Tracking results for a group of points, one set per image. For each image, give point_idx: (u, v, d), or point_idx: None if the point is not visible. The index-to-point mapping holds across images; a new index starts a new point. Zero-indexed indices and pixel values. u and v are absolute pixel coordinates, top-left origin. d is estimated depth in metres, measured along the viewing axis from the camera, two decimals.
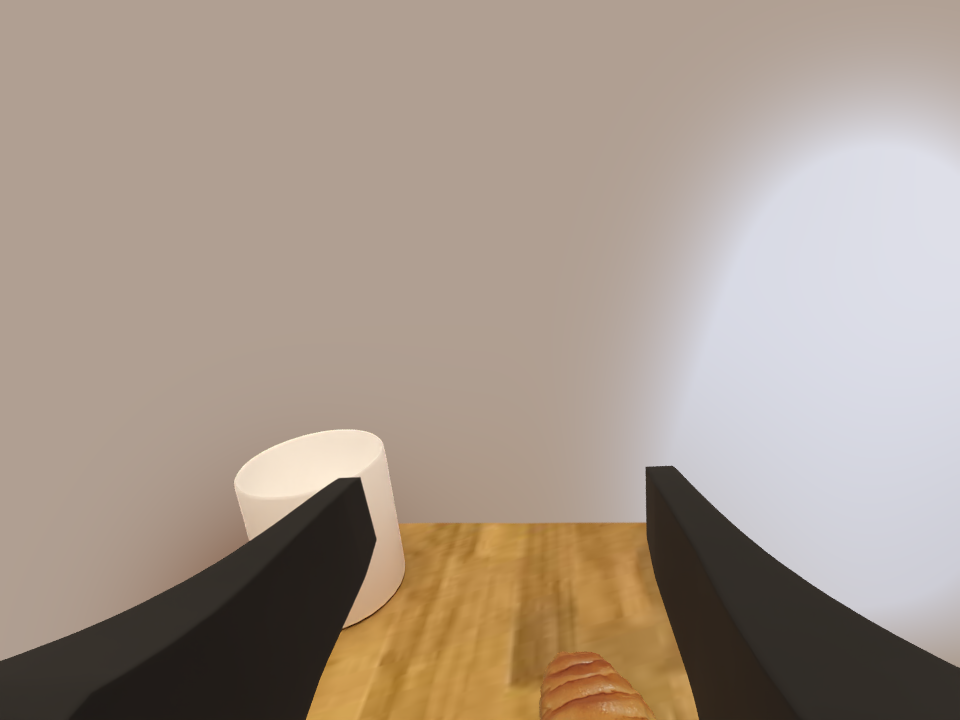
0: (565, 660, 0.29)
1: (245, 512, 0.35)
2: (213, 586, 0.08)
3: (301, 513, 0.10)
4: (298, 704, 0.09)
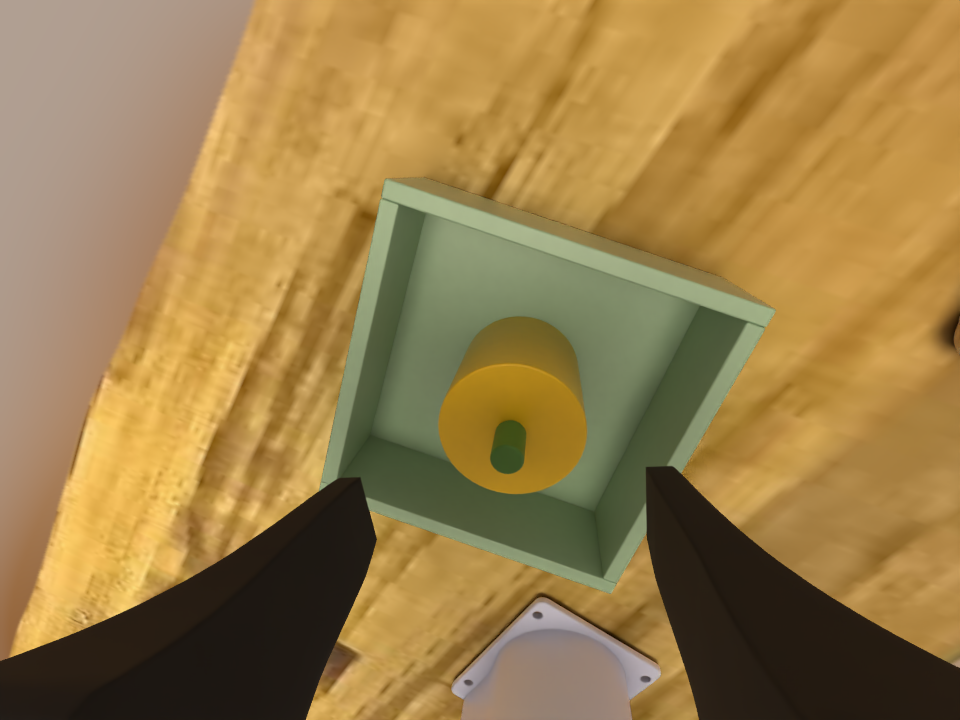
0: None
1: None
2: (213, 586, 0.08)
3: (301, 513, 0.10)
4: (298, 704, 0.09)
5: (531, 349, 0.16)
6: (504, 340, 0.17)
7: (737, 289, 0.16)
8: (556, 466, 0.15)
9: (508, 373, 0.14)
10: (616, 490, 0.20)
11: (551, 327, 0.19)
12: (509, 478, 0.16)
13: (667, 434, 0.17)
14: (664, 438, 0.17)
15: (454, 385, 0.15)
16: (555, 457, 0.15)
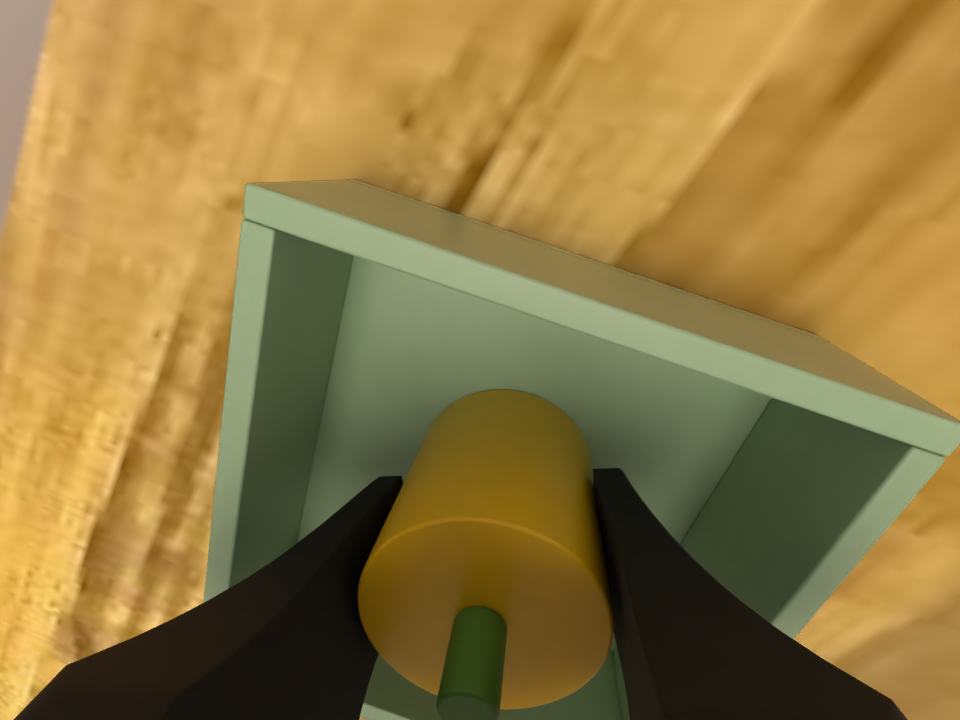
0: None
1: None
2: (271, 586, 0.08)
3: (348, 512, 0.10)
4: (351, 707, 0.09)
5: (517, 473, 0.09)
6: (473, 447, 0.10)
7: (867, 370, 0.09)
8: (559, 676, 0.09)
9: (474, 533, 0.08)
10: None
11: (551, 409, 0.12)
12: None
13: (739, 594, 0.11)
14: None
15: (380, 546, 0.09)
16: (557, 664, 0.09)
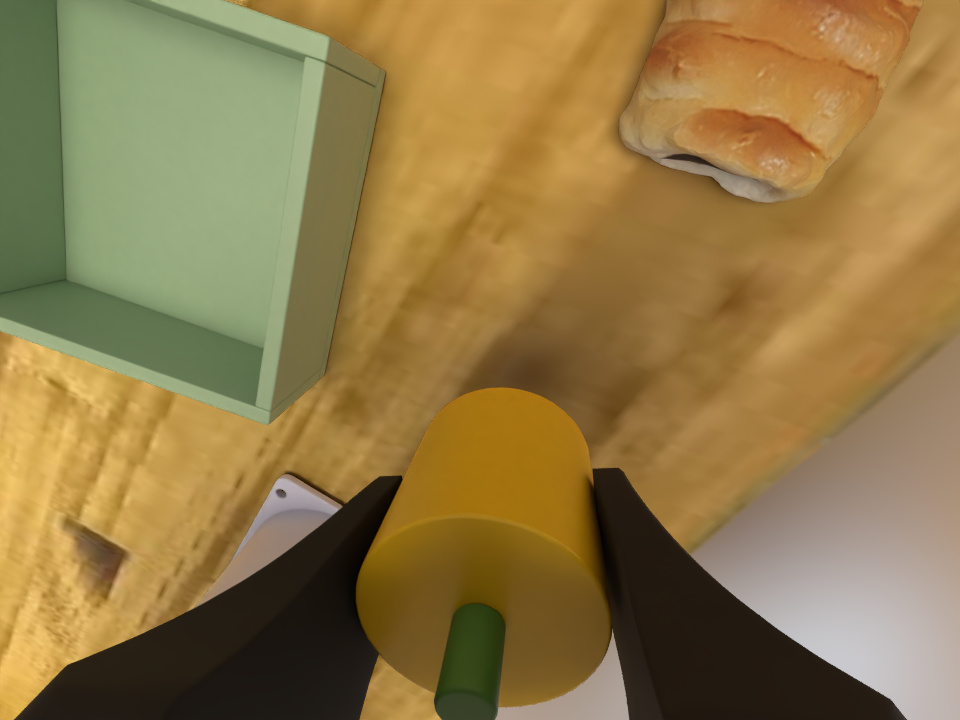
0: None
1: None
2: (272, 586, 0.08)
3: (348, 512, 0.10)
4: (352, 707, 0.09)
5: (516, 470, 0.09)
6: (472, 445, 0.10)
7: None
8: (558, 673, 0.09)
9: (472, 531, 0.08)
10: None
11: (550, 407, 0.12)
12: None
13: None
14: None
15: (378, 543, 0.08)
16: (556, 661, 0.09)
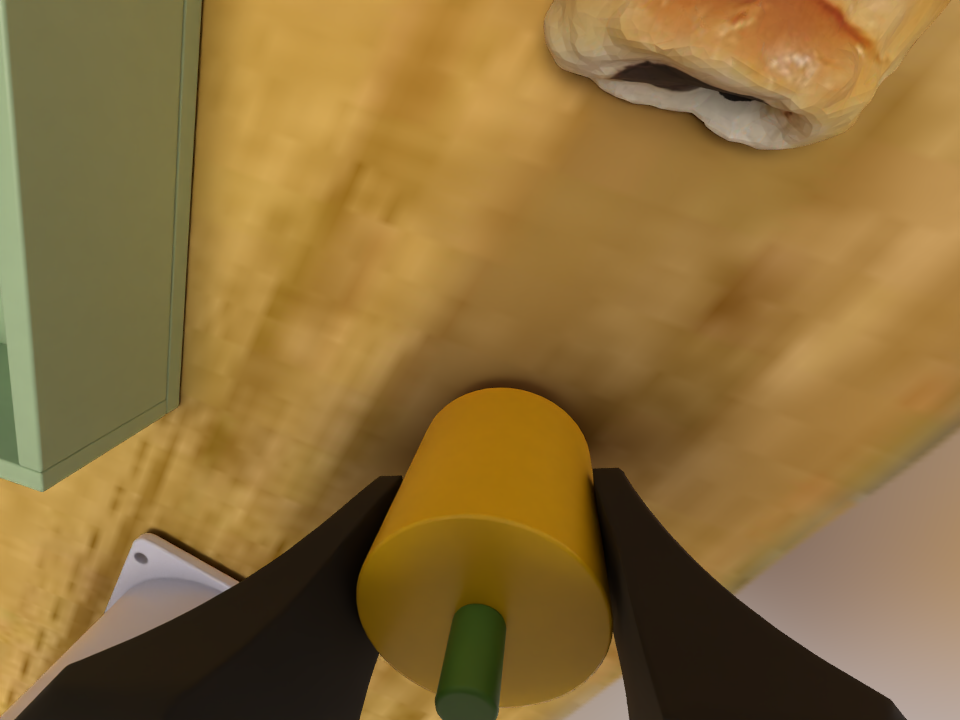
0: None
1: None
2: (272, 586, 0.08)
3: (348, 512, 0.10)
4: (352, 707, 0.09)
5: (516, 471, 0.09)
6: (472, 445, 0.10)
7: None
8: (558, 674, 0.09)
9: (472, 530, 0.08)
10: None
11: (550, 407, 0.12)
12: None
13: None
14: None
15: (379, 544, 0.08)
16: (557, 661, 0.09)
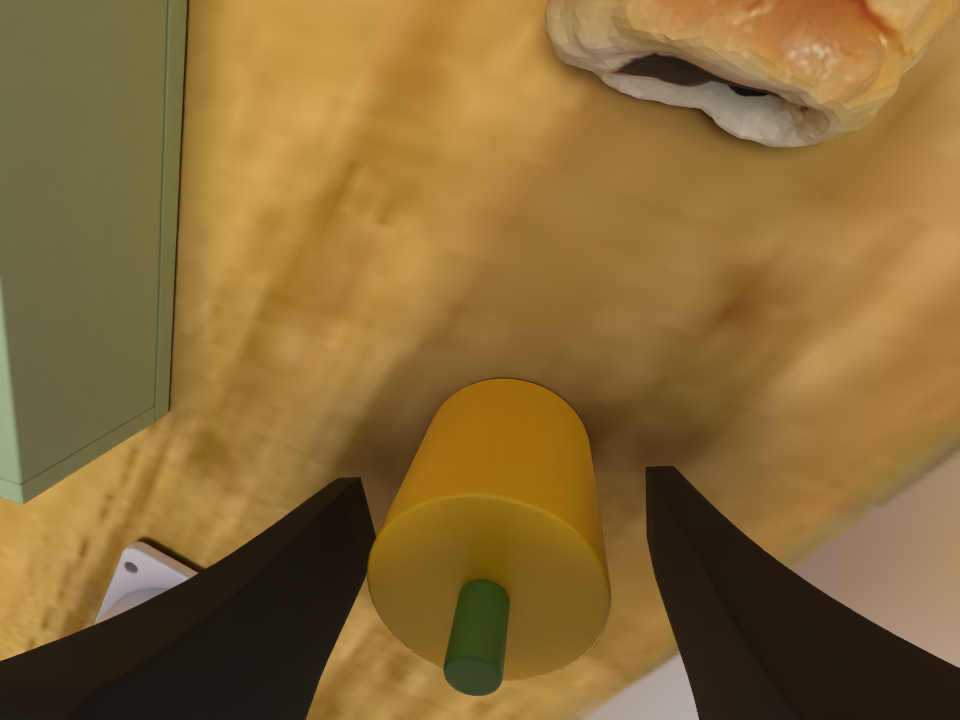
0: None
1: None
2: (212, 586, 0.08)
3: (300, 513, 0.10)
4: (298, 704, 0.09)
5: (519, 454, 0.10)
6: (477, 431, 0.10)
7: None
8: (559, 647, 0.09)
9: (478, 509, 0.08)
10: None
11: (551, 397, 0.13)
12: None
13: None
14: None
15: (389, 522, 0.09)
16: (558, 635, 0.09)
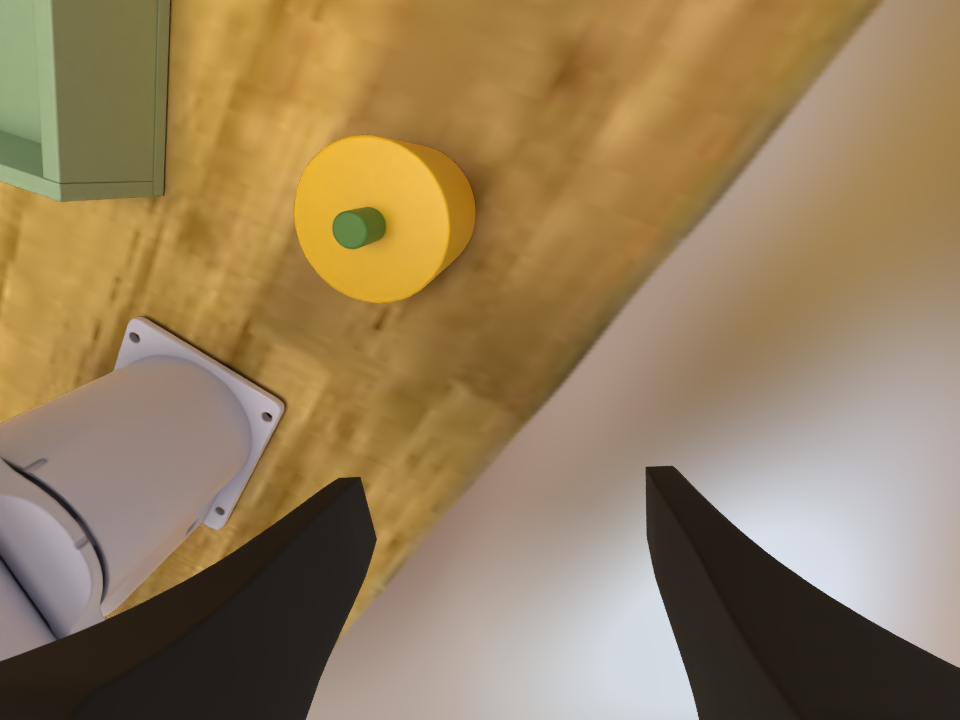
0: None
1: None
2: (213, 586, 0.08)
3: (301, 513, 0.10)
4: (298, 704, 0.09)
5: (397, 140, 0.14)
6: None
7: None
8: (421, 263, 0.14)
9: (359, 147, 0.13)
10: None
11: (442, 153, 0.18)
12: (374, 283, 0.15)
13: None
14: None
15: (305, 168, 0.14)
16: (419, 252, 0.14)
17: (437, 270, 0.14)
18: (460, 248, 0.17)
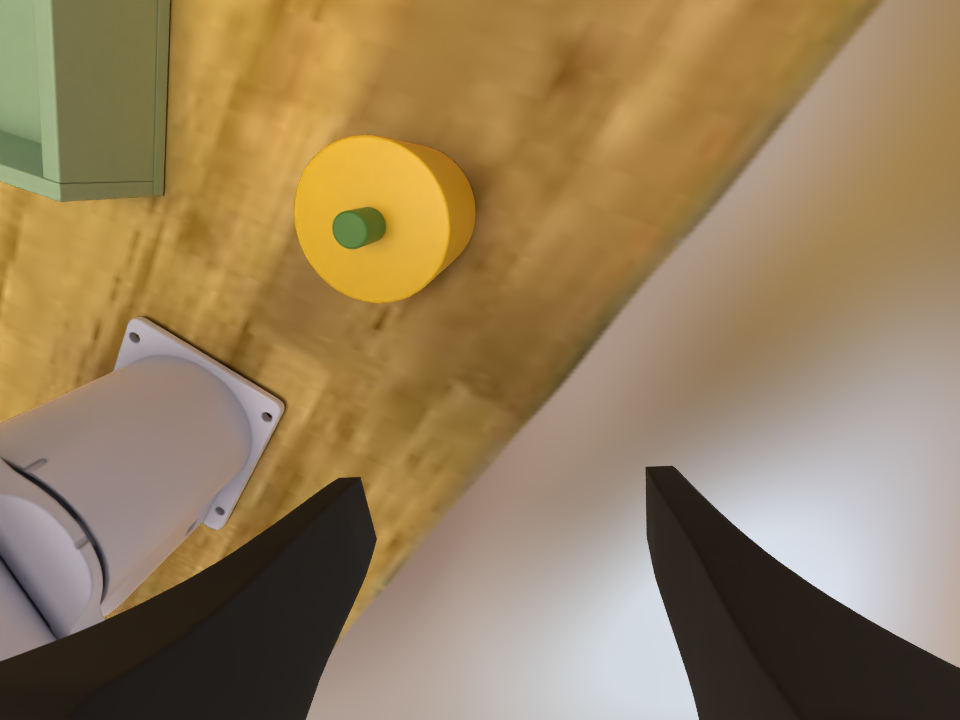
0: None
1: None
2: (213, 586, 0.08)
3: (301, 513, 0.10)
4: (298, 704, 0.09)
5: (397, 140, 0.14)
6: None
7: None
8: (421, 263, 0.14)
9: (359, 147, 0.13)
10: None
11: (442, 153, 0.18)
12: (374, 283, 0.15)
13: None
14: None
15: (305, 168, 0.14)
16: (419, 252, 0.14)
17: (437, 270, 0.14)
18: (460, 248, 0.17)
